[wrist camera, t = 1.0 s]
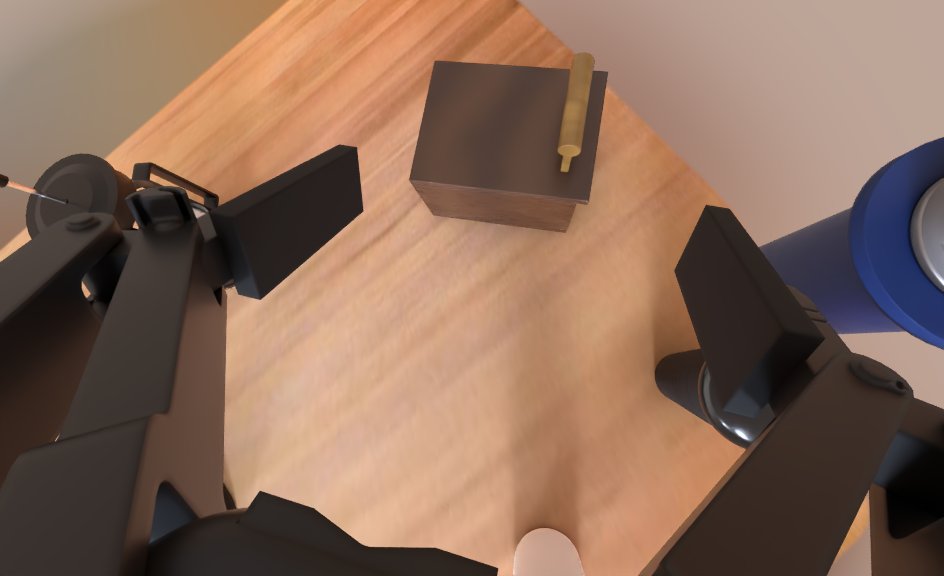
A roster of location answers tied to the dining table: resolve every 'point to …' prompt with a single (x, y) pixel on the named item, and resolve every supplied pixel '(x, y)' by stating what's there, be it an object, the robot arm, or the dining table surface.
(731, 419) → the drinking cup
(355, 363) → the dining table surface
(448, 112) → the chest door
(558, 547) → the can
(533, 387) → the dining table surface
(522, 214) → the chest
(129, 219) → the french press
